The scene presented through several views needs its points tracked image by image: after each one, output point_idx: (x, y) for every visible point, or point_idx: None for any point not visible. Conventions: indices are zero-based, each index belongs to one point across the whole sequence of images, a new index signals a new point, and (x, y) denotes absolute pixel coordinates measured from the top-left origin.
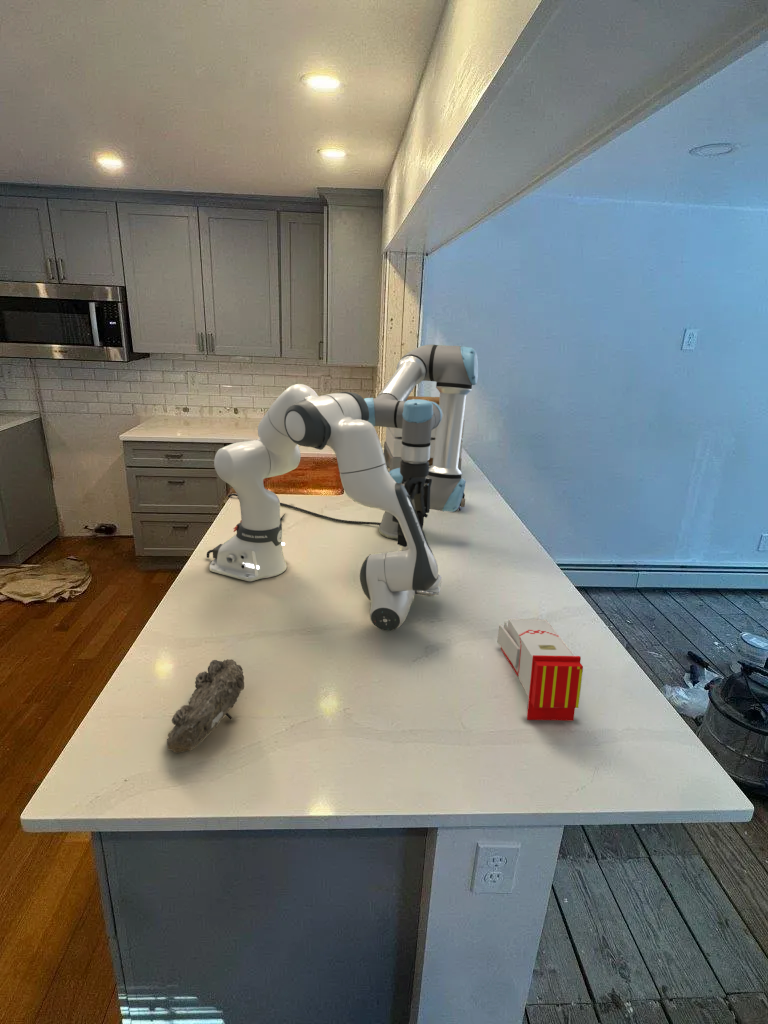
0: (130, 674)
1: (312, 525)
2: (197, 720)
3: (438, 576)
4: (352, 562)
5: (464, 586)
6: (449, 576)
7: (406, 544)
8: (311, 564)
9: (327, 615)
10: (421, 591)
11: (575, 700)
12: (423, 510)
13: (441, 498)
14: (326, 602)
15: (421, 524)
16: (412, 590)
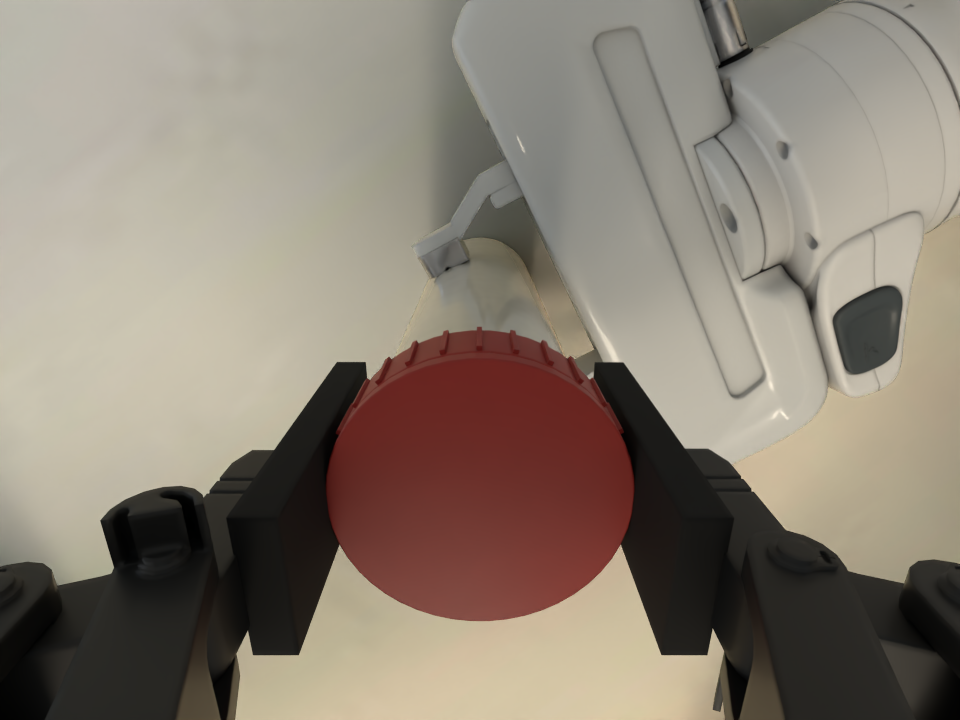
0: None
1: None
2: None
3: (500, 9)
4: (452, 625)
5: (187, 56)
6: (167, 211)
7: (607, 370)
8: (592, 707)
9: (942, 384)
10: (734, 6)
11: None
12: (143, 646)
13: None
14: (840, 462)
15: (309, 455)
16: (860, 8)
